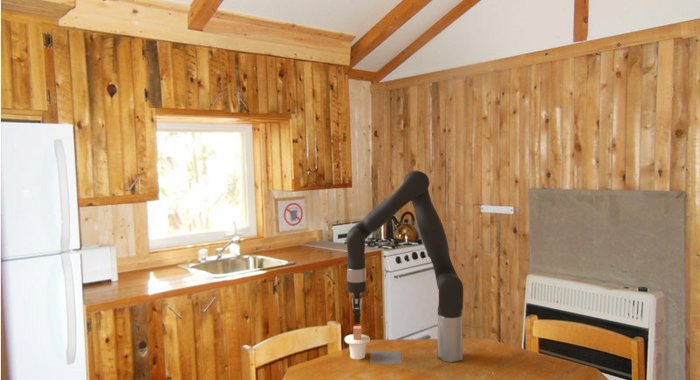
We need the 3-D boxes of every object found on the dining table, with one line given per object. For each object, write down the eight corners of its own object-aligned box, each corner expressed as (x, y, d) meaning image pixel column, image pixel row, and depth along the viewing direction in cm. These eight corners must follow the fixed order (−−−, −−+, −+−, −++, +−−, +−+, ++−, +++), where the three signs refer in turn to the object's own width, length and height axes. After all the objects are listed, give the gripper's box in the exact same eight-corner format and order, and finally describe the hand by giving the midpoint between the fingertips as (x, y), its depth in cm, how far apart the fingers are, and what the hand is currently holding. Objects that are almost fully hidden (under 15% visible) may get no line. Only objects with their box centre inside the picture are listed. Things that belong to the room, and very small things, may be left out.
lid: (370, 335, 203) (370, 323, 202) (370, 345, 193) (370, 331, 192) (345, 335, 203) (345, 322, 203) (343, 345, 193) (343, 331, 193)
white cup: (366, 361, 195) (366, 343, 195) (348, 361, 195) (348, 343, 195) (366, 354, 202) (366, 337, 201) (349, 354, 202) (349, 337, 202)
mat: (400, 352, 203) (400, 351, 203) (402, 365, 191) (402, 364, 191) (370, 352, 203) (370, 351, 203) (370, 365, 191) (370, 363, 191)
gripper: (366, 283, 189) (366, 326, 190) (366, 274, 203) (367, 314, 204) (346, 284, 189) (347, 326, 191) (347, 274, 204) (348, 314, 205)
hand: (357, 320), depth 198 cm, fingers open, 8 cm apart
